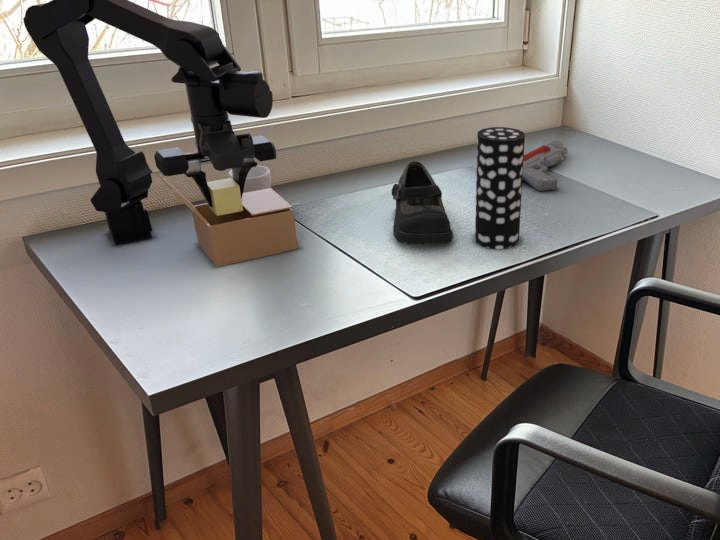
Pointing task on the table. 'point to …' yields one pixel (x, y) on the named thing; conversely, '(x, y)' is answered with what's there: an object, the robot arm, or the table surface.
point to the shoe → (419, 208)
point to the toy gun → (542, 165)
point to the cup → (256, 179)
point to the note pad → (225, 196)
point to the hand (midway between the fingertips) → (225, 203)
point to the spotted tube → (499, 186)
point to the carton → (247, 229)
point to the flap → (182, 198)
